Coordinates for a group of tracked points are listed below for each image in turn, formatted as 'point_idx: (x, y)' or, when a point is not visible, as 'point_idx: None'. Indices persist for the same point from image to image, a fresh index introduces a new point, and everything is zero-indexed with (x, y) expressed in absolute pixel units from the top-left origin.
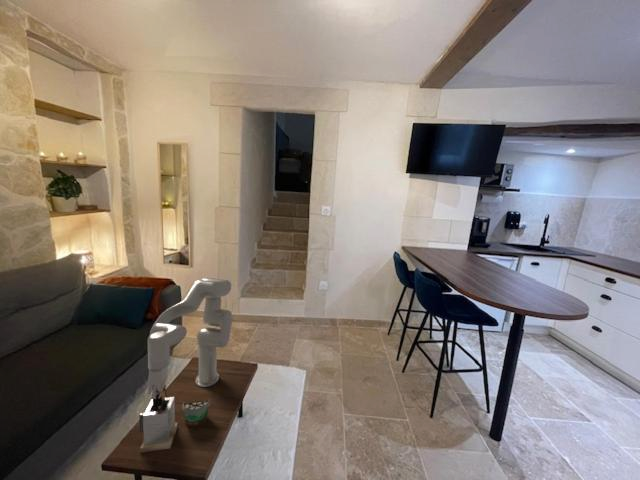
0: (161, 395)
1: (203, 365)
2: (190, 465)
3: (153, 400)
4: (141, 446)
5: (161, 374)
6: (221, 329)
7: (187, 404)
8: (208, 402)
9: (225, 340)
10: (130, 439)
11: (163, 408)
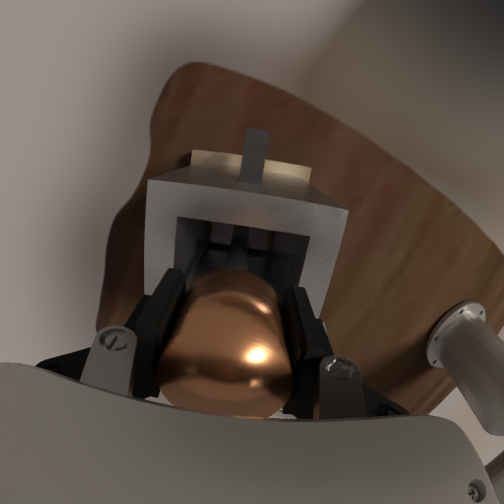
0: (174, 395)
1: (482, 378)
2: (117, 313)
3: (148, 308)
4: (201, 152)
5: None
6: None
7: None
8: (281, 413)
9: None
10: (278, 97)
11: (285, 269)
